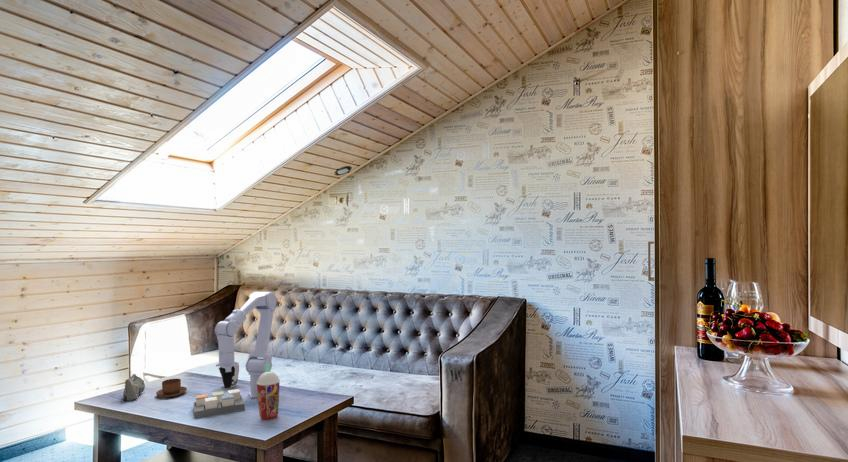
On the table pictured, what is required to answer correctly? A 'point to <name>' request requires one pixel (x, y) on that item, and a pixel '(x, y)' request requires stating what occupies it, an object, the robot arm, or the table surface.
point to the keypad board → (218, 409)
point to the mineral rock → (133, 388)
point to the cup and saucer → (171, 388)
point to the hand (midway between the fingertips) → (227, 386)
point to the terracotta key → (201, 399)
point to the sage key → (218, 396)
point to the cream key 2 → (235, 394)
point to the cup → (234, 375)
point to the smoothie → (268, 395)
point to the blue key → (227, 400)
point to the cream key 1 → (210, 403)
